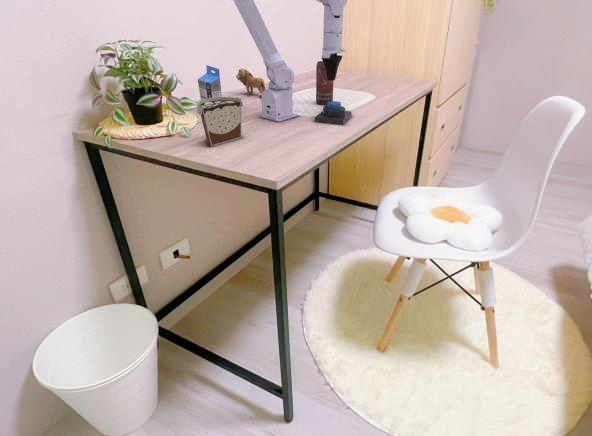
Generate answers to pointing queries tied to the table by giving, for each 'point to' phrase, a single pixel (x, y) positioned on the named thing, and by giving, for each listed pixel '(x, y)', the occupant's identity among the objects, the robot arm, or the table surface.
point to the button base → (333, 116)
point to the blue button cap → (334, 105)
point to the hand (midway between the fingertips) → (331, 80)
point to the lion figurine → (250, 81)
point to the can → (323, 85)
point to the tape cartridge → (210, 84)
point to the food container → (221, 119)
